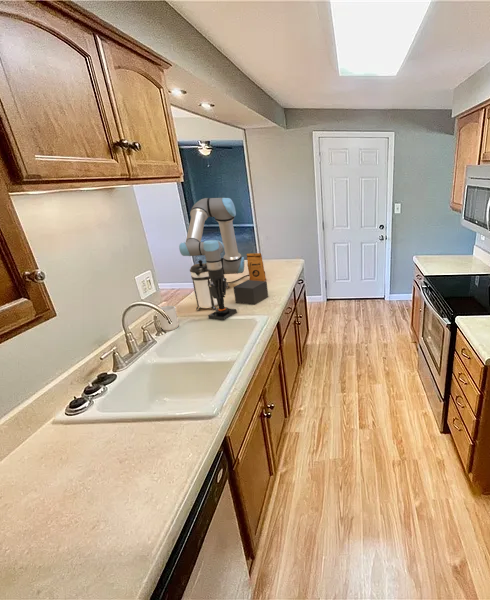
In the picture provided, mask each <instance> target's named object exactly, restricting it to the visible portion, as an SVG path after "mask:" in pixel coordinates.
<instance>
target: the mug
mask: <svg viewBox="0 0 490 600" xmlns="http://www.w3.org/2000/svg"><path fill="white" fill-rule="evenodd" d="M159 308H161V309H162V310H164V311H165V313H166V314H167V315H168V316H169V317H170V319H171V321H172V324H169V323H168V322H167V320H166V319H165V318H164V317H162V316H161V315H160V314H159V313H157V312H156V311H155V313H156V317H158V318H159V320H160V323H161V327H162V329H163V330H162V329H161V330H162V331H164V332H169V331H173V330H176V329H177V328H179V325H180V322H179V318H178V313H177V306H176V305H164V306H160V307H159ZM158 318H157V319H158Z"/></svg>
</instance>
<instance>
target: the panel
mask: <svg viewBox="0 0 490 600" xmlns="http://www.w3.org/2000/svg"><path fill="white" fill-rule="evenodd" d="M224 307H225V308H226V310H223V311H218V309H219V307H218V308H216V310H214V311H212V312H211V313H210V314H207V317H208V319H209V320H217V321H225V320H227V319H229V318H231V317H232V316H234V315H235V314H237V313H238V310H237V309H236V308H229V307H227V306H224Z"/></svg>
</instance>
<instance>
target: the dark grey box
mask: <svg viewBox="0 0 490 600" xmlns="http://www.w3.org/2000/svg"><path fill="white" fill-rule="evenodd" d="M266 282H267V281H266V280H265V281H255V280H249V279H247V280H245V281H243V282H240V283H239V284H236V285H235V286H233V293H234V299H235V303H236V304H243V305H251V306H253V305H254V306H255V305H257V304H259V303H261V302H262V301H263V300H265V299H267V298H268V297H269V291H268V292H267V290H268V283H266Z"/></svg>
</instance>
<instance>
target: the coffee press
mask: <svg viewBox="0 0 490 600" xmlns="http://www.w3.org/2000/svg"><path fill="white" fill-rule="evenodd" d="M208 270H209V269H207V263H204V260H201V259H199V260H198V261H197V263H195V264H193V265H191V267H190V269H189V272H190V275H191V276H190V277H191V280H192V285H193V291H194V295H195V300H196V305H197V306H196V308H195V311H197V312H200V310H201V309H212V311H215V310H216V309H217V308H216V307H217V306H218V303H217V299H215V298H213V295H212V293H211V290H210V287H209V286H208V284H210V282H211V281H210V280H211V278H210V277H209V274H208Z"/></svg>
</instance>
